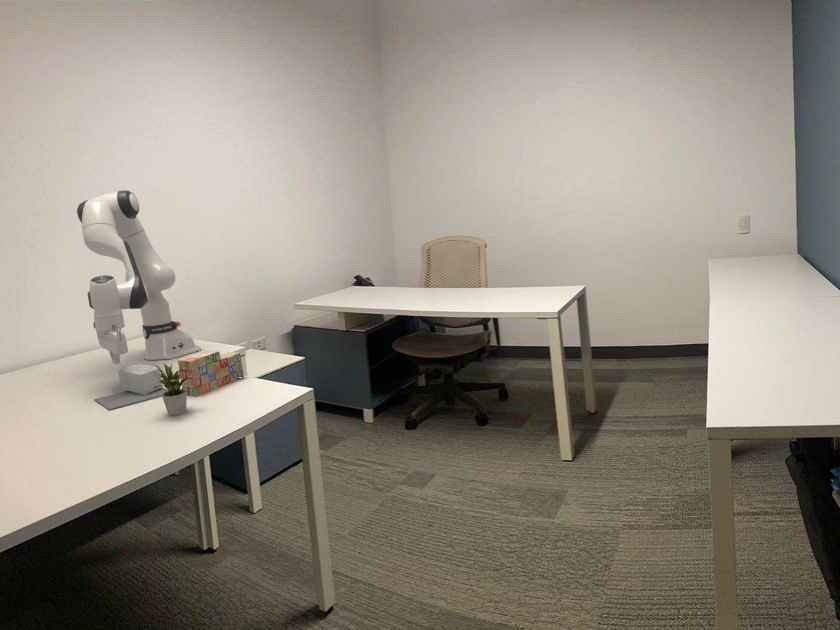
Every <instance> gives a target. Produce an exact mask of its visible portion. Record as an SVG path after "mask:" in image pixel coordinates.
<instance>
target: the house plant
mask: <svg viewBox="0 0 840 630" xmlns="http://www.w3.org/2000/svg"><path fill="white" fill-rule="evenodd" d="M173 362H174V361H172V362H171V365H170V366H169V365H167V364H166V363H165V362H163V366H164V371H165V373H164V371H163V370H162V368H161V367H160V366H159V365H156V364H154V363H153V364H151V365H152V366H153V367H157V368H158V369H159V371H160V375H161V376H160V375H159V374H158V373H156V372H155V373H156V374H158V375H159V376H160V377H161V379H160V378H159V377H158V376H157V377H158V378H159V379H160V381H159V382H160V383H162V385H163V388H165V389H168V391H167V392H165V393H163V394H162V400H163V403H164V406H165V409H166V411H167V414H168V415H169V416H179V415H183V414H184V413H186V412H187V405H188V404H187V399H188V398H187V396H188V395H187V390H185V389H183V388H182V384H183V382H184V381H186V380H187V379H190V378H186V379H183V380H181V376H182V375H183V374H182V375H180V373H181V371H182V368H183V365H182V367H181V370H180V372H179V369H178V370H176V371H175V372H174V373H173V371H172V369H173V367H172V366H173ZM191 365H192V364H191ZM191 365H190V366H191ZM188 367H189V366H188ZM188 367H187V368H188ZM187 368H186V369H187ZM185 371H186V370H185ZM185 371H184V372H185ZM152 372H153V371H152ZM184 372H183V373H184ZM149 374H151V373H149ZM154 375H155V374H154ZM191 381H192V380H191ZM188 382H190V381H188ZM188 382H187V383H188ZM187 383H186V384H187ZM151 385H152V384H151ZM159 386H161V385H158V386H155V387H154V388H153V390H154V389H156V388H157V387H159ZM183 387H184V386H183ZM164 391H165V390H164Z"/></svg>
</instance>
